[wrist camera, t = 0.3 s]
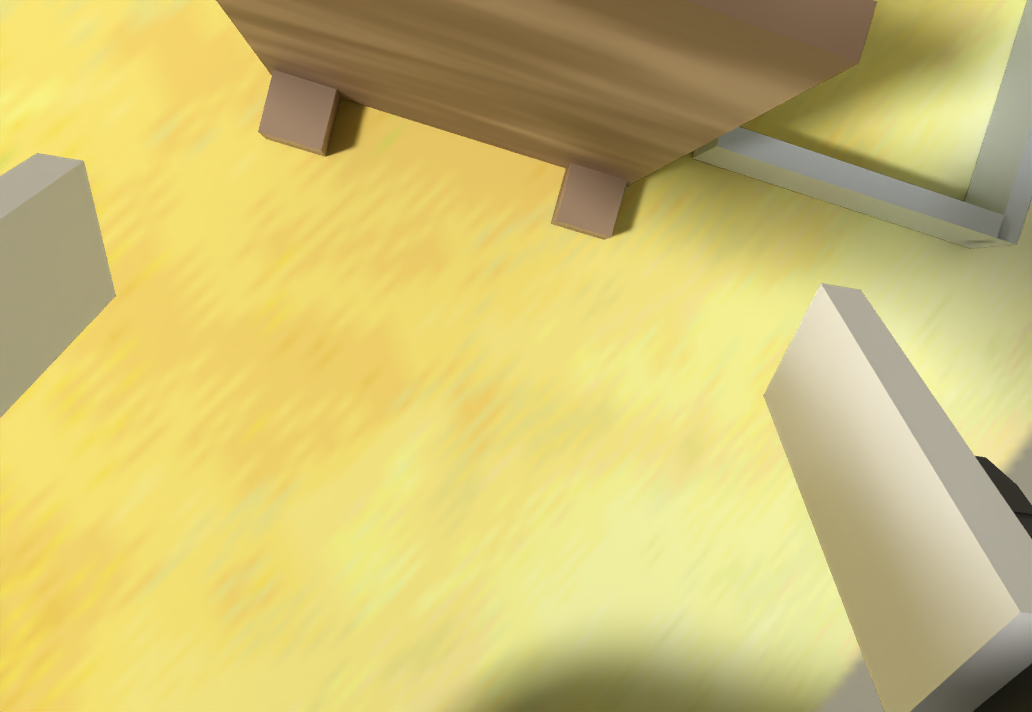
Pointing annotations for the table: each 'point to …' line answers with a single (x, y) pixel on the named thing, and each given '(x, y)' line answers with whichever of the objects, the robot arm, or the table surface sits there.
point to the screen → (550, 75)
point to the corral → (974, 223)
